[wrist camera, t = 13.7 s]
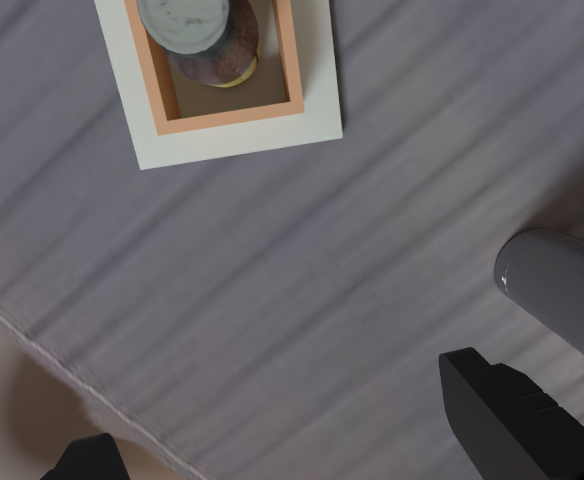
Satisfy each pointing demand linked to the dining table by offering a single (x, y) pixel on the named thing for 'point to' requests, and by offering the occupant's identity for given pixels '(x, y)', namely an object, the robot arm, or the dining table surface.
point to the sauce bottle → (205, 38)
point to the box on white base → (227, 101)
